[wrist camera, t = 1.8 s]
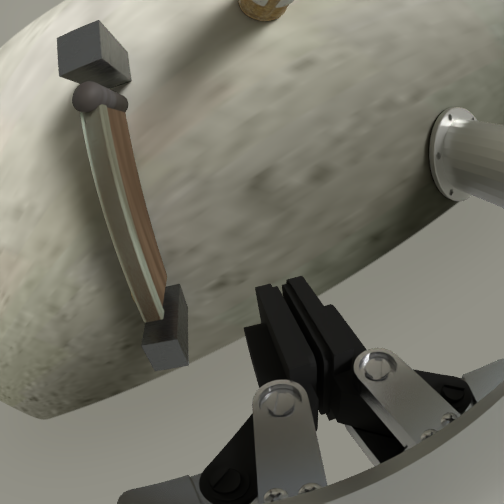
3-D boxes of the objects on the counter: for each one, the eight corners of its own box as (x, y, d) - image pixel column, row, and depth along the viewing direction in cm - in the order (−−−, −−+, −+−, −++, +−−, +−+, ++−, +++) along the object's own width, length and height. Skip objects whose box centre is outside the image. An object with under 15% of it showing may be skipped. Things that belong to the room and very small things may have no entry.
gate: (126, 92, 19) (98, 76, 13) (170, 275, 27) (165, 322, 20) (96, 102, 19) (60, 92, 12) (144, 281, 26) (131, 328, 20)
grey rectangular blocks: (127, 52, 18) (99, 19, 10) (187, 307, 29) (188, 365, 22) (96, 63, 18) (57, 38, 10) (161, 313, 29) (154, 370, 21)
